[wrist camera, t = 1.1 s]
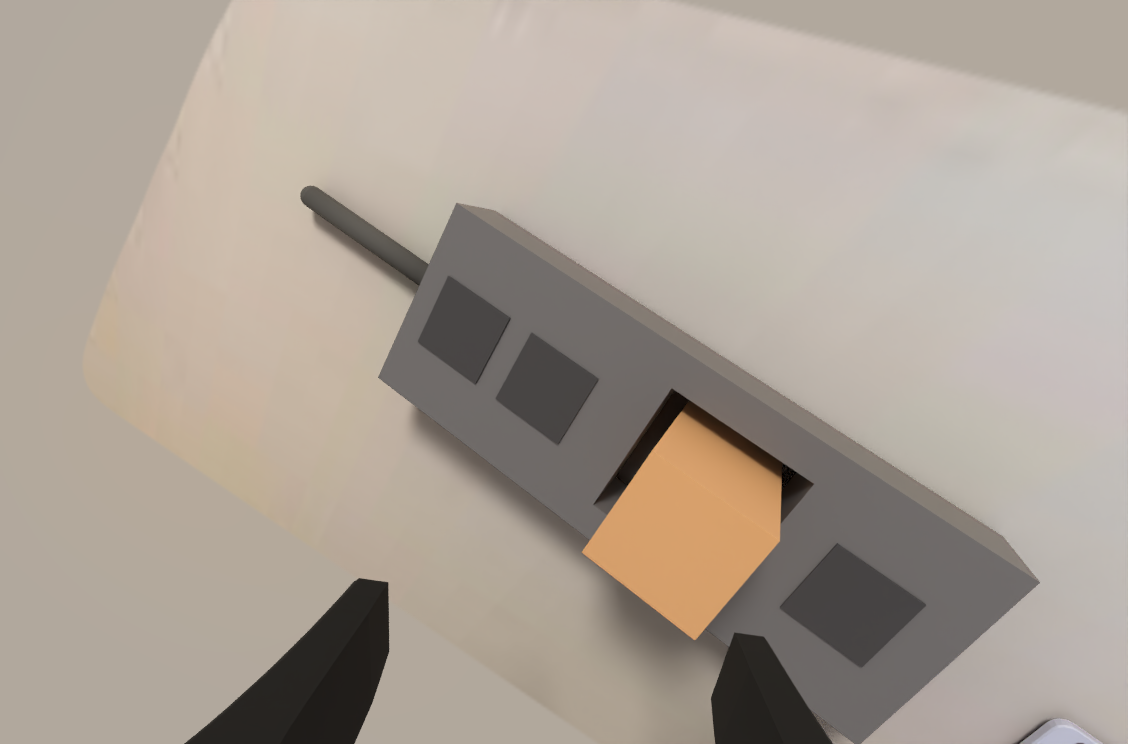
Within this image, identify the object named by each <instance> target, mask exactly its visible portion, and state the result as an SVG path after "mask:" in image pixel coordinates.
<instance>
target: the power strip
mask: <svg viewBox="0 0 1128 744" xmlns="http://www.w3.org/2000/svg"><path fill="white" fill-rule="evenodd" d="M301 200H302V202H303V203H304V204H305V205H306V206H307V207H309V208H310V209H311V210H313V211H314V212H316V213H317V214H318V215H320V216H321V217H323V218H324V219H326V220H327V221H328V222H330V223H331V224H333V225H334V226H335V227H337V228H338V229H340V230H341V231H343V232H344V233H345V234H347V235H348V236H350V237H351V238H352V239H354V240H355V241H357V242H358V243H360V244H361V245H362V246H364V247H365V248H367V249H368V250H369V251H371V252H372V253H374V254H375V255H377V256H378V257H379V258H381V259H382V260H384V261H385V262H387V263H388V264H389V265H391V266H392V267H394V268H395V269H396V270H398V271H399V272H401V273H402V274H404V275H405V276H406V277H408V278H409V279H411V280H412V281H413V282H415V283H416V284H418V285H419V288H418V290H417V292H416V294H415V297H414V299H413V301H412V303H411V305H410V308H409V310H408V312H407V314H406V317H405V319H404V321H403V323H402V325H401V328H400V330H399V332H398V334H397V337H396V339H395V341H394V343H393V345H392V348H391V350H390V352H389V354H388V357H387V359H386V361H385V363H384V366H383V368H382V370H381V372H380V374H379V377H378V378H379V379H381V380H382V381H383V382H385V383H386V384H387V385H388V386H390V387H391V388H392V389H394V390H395V391H396V392H398V393H399V394H400V395H402V396H403V397H404V398H405V399H407V400H408V401H409V402H411V403H412V404H413V405H415V406H416V407H417V408H418V409H420V410H421V411H422V412H424V413H425V414H426V415H428V416H429V417H430V418H431V419H433V420H434V421H435V422H437V423H438V424H439V425H441V426H442V427H443V428H444V429H446V430H447V431H448V432H450V433H451V434H452V435H454V436H455V437H456V438H457V439H459V440H460V441H461V442H463V443H464V444H465V445H467V446H468V447H469V448H470V449H472V450H473V451H474V452H476V453H477V454H478V455H480V456H481V457H482V458H483V459H485V460H486V461H487V462H489V463H490V464H491V465H493V466H494V467H495V468H496V469H498V470H499V471H500V472H502V473H503V474H504V475H506V476H507V477H508V478H509V479H511V480H512V481H513V482H515V483H516V484H517V485H519V486H520V487H521V488H523V489H524V490H525V491H526V492H528V493H529V494H530V495H532V496H533V497H534V498H536V499H537V500H538V501H539V502H541V503H542V504H543V505H545V506H546V507H547V508H549V509H550V510H551V511H552V512H554V513H555V514H556V515H558V516H559V517H560V518H562V519H563V520H564V521H565V522H567V523H568V524H569V525H571V526H572V527H573V528H575V529H576V530H577V531H578V532H580V533H581V534H582V535H584V536H585V537H586V538H588V539H589V540H591V538H592V537H593V535H594V534H595V532H596V531H597V529H598V528H599V527H600V525H601V524H602V522H603V521H604V519H605V518H606V516H607V515H608V514H609V512H610V511H611V509H612V508H613V506H614V505H615V503H616V502H617V501H618V499H619V498H620V496H621V495H622V493H623V492H624V490H625V489H626V488H627V485H626V484H624V483H623V482H622V481H620V480H619V479H617V478H616V476H617V474H618V473H619V471H620V470H621V468H622V467H623V466H624V464H625V463H626V461H627V460H628V458H629V457H630V455H631V454H632V452H633V451H634V449H635V448H636V446H637V445H638V443H639V442H640V440H641V439H642V437H643V436H644V435H645V433H646V432H647V430H648V429H649V427H650V426H651V424H652V423H653V421H654V420H655V418H656V417H657V415H658V414H659V412H660V411H661V409H662V408H663V406H664V405H665V404H666V402H667V401H668V399H669V398H670V396H671V395H672V393H673V392H674V390H675V391H677V392H678V393H680V394H681V395H683V396H684V397H686V398H687V399H689V400H690V401H691V402H693V403H694V404H696V405H697V406H699V407H700V408H702V409H703V410H705V411H706V412H708V413H709V414H711V415H712V416H714V417H715V418H717V419H718V420H720V421H721V422H723V423H724V424H726V425H727V426H729V427H730V428H732V429H733V430H735V431H736V432H738V433H739V434H741V435H742V436H744V437H745V438H747V439H748V440H750V441H751V442H753V443H754V444H756V445H757V446H759V447H760V448H762V449H763V450H765V451H766V452H768V453H769V454H770V455H772V456H773V457H775V458H776V459H778V460H779V461H781V462H782V463H784V464H785V465H787V466H788V467H790V468H791V469H793V470H794V471H796V472H797V473H796V474H795V475H794V476H793V477H792V479H791V480H790V481H789V482H788V484H787V485H786V486H785V487H784V488H783V490H782V491H781V521H780V542H779V543H778V544H777V545H776V546H775V547H774V549H773V550H772V551H771V552H770V553H769V554H768V556H767V557H766V558H765V559H764V560H763V561H762V563H761V564H760V565H759V566H758V567H757V568H756V570H755V571H754V572H753V573H752V574H751V575H750V577H749V578H748V579H747V580H746V581H745V583H744V584H743V585H742V586H741V587H740V588H739V590H738V591H737V592H736V593H735V594H734V595H733V597H732V598H731V599H730V600H729V601H728V602H727V604H726V605H725V606H724V607H723V608H722V609H721V611H720V612H719V613H718V614H717V615H716V616H715V618H714V619H713V620H712V621H711V622H710V623H709V625H708V626H707V627H706V628H705V629H706V630H707V631H709V632H710V633H711V634H712V635H714V636H715V637H716V638H718V639H719V640H720V641H722V642H723V643H724V644H725V645H727V646H728V647H729V646H730V643H731V640H732V638H733V635H734V632H735V633H742V634H749V635H756V636H763V637H765V639H766V640H767V641H768V643H769V645H770V646H771V648H772V649H773V651H774V653H775V654H776V656H777V658H778V659H779V661H780V663H781V664H782V666H783V667H784V669H785V671H786V672H787V674H788V676H789V677H790V679H791V680H792V682H793V684H794V685H795V687H796V688H797V690H798V692H799V693H800V695H801V696H802V698H803V699H804V701H805V703H806V704H807V706H808V707H809V709H810V710H811V711H813V712H814V713H815V714H817V715H818V716H819V717H820V718H822V719H823V720H824V721H826V722H827V723H828V724H830V725H831V726H832V727H833V728H835V729H836V730H837V731H839V732H840V733H841V734H843V735H844V736H845V737H846V738H848V739H849V740H850V741H852V742H853V743H854V744H861V743H862V742H863V741H864V740H865V739H866V738H867V737H869V736H870V735H871V734H872V733H873V732H874V731H875V730H876V729H877V728H879V727H880V726H881V725H882V724H883V723H884V722H885V721H886V720H887V719H889V718H890V717H891V716H892V715H893V714H894V713H895V712H896V711H897V710H899V709H900V708H901V707H902V706H903V705H904V704H905V703H906V702H908V701H909V700H910V699H911V698H912V697H913V696H914V695H915V694H916V693H918V692H919V691H920V690H921V689H922V688H923V687H924V686H925V685H926V684H928V683H929V682H930V681H931V680H932V679H933V678H934V677H935V676H936V675H938V674H939V673H940V672H941V671H942V670H943V669H944V668H945V667H947V666H948V665H949V664H950V663H951V662H952V661H953V660H954V659H955V658H957V657H958V656H959V655H960V654H961V653H962V652H963V651H964V650H965V649H967V648H968V647H969V646H970V645H971V644H972V643H973V642H974V641H975V640H977V639H978V638H979V637H980V636H981V635H982V634H983V633H984V632H986V631H987V630H988V629H989V628H990V627H991V626H992V625H993V624H994V623H996V622H997V621H998V620H999V619H1000V618H1001V617H1002V616H1003V615H1004V614H1006V613H1007V612H1008V611H1009V610H1010V609H1011V608H1012V607H1013V606H1014V605H1016V604H1017V603H1018V602H1019V601H1020V600H1021V599H1022V598H1023V597H1025V596H1026V595H1027V594H1028V593H1029V592H1030V591H1031V590H1032V589H1033V588H1035V587H1036V586H1037V585H1038V584H1039V583H1040V582H1039V581H1038V579H1037V578H1036V577H1035V576H1034V574H1033V573H1032V572H1031V571H1030V569H1029V568H1028V567H1027V566H1026V564H1025V563H1024V562H1023V561H1022V559H1021V558H1020V557H1019V556H1018V555H1017V553H1016V552H1015V551H1014V550H1013V548H1012V547H1011V546H1010V545H1009V543H1008V542H1007V541H1006V540H1005V538H1004V537H1003V536H1001V535H1000V534H998V533H997V532H995V531H994V530H992V529H990V528H989V527H987V526H986V525H984V524H983V523H981V522H979V521H978V520H976V519H975V518H973V517H972V516H970V515H969V514H967V513H965V512H964V511H962V510H961V509H959V508H958V507H956V506H955V505H953V504H951V503H950V502H948V501H947V500H945V499H944V498H942V497H941V496H939V495H937V494H936V493H934V492H933V491H931V490H930V489H928V488H926V487H925V486H923V485H922V484H920V483H919V482H917V481H916V480H914V479H912V478H911V477H909V476H908V475H906V474H905V473H903V472H902V471H900V470H898V469H897V468H895V467H894V466H892V465H891V464H889V463H888V462H886V461H884V460H883V459H881V458H880V457H878V456H877V455H875V454H874V453H872V452H870V451H869V450H867V449H866V448H864V447H863V446H861V445H859V444H858V443H856V442H855V441H853V440H852V439H850V438H849V437H847V436H845V435H844V434H842V433H841V432H839V431H838V430H836V429H835V428H833V427H831V426H830V425H828V424H827V423H825V422H824V421H822V420H821V419H819V418H817V417H816V416H814V415H813V414H811V413H810V412H808V411H807V410H805V409H803V408H802V407H800V406H799V405H797V404H796V403H794V402H792V401H791V400H789V399H788V398H786V397H785V396H783V395H782V394H780V393H778V392H777V391H775V390H774V389H772V388H771V387H769V386H768V385H766V384H764V383H763V382H761V381H760V380H758V379H757V378H755V377H754V376H752V375H750V374H749V373H747V372H746V371H744V370H743V369H741V368H739V367H738V366H736V365H735V364H733V363H732V362H730V361H729V360H727V359H725V358H724V357H722V356H721V355H719V354H718V353H716V352H715V351H713V350H711V349H710V348H708V347H707V346H705V345H704V344H702V343H701V342H699V341H697V340H696V339H694V338H693V337H691V336H690V335H688V334H687V333H685V332H683V331H682V330H680V329H679V328H677V327H676V326H674V325H672V324H671V323H669V322H668V321H666V320H665V319H663V318H662V317H660V316H658V315H657V314H655V313H654V312H652V311H651V310H649V309H648V308H646V307H644V306H643V305H641V304H640V303H638V302H637V301H635V300H634V299H632V298H630V297H629V296H627V295H626V294H624V293H623V292H621V291H620V290H618V289H616V288H615V287H613V286H612V285H610V284H609V283H607V282H605V281H604V280H602V279H601V278H599V277H598V276H596V275H595V274H593V273H591V272H590V271H588V270H587V269H585V268H584V267H582V266H581V265H579V264H577V263H576V262H574V261H573V260H571V259H570V258H568V257H567V256H565V255H563V254H562V253H560V252H559V251H557V250H556V249H554V248H553V247H551V246H549V245H548V244H546V243H545V242H543V241H542V240H540V239H538V238H537V237H535V236H534V235H532V234H531V233H529V232H528V231H526V230H524V229H523V228H521V227H520V226H518V225H517V224H515V223H514V222H512V221H510V220H509V219H507V218H506V217H504V216H503V215H501V214H500V213H498V212H496V211H494V210H489V209H484V208H479V207H474V206H469V205H464V204H459V203H456V205H455V208H454V210H453V212H452V214H451V216H450V219H449V221H448V223H447V225H446V228H445V230H444V232H443V234H442V236H441V239H440V241H439V243H438V245H437V248H436V250H435V252H434V254H433V257H432V259H431V261H430V263H429V264H427V263H426V262H424V261H423V260H421V259H420V258H418V257H417V256H416V255H414V254H413V253H411V252H410V251H408V250H407V249H405V248H404V247H403V246H401V245H400V244H398V243H397V242H395V241H394V240H392V239H391V238H390V237H388V236H387V235H385V234H384V233H382V232H381V231H379V230H378V229H376V228H375V227H374V226H372V225H371V224H369V223H368V222H366V221H365V220H363V219H362V218H361V217H359V216H358V215H356V214H355V213H353V212H352V211H350V210H349V209H348V208H346V207H345V206H343V205H342V204H340V203H339V202H337V201H336V200H335V199H333V198H332V197H330V196H329V195H327V194H326V193H324V192H323V191H322V190H320V189H319V188H317V187H315V186H307V187H305V188H304V189H303V190H302V191H301Z"/></svg>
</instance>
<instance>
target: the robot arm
mask: <svg viewBox="0 0 1128 744" xmlns="http://www.w3.org/2000/svg"><path fill="white" fill-rule="evenodd" d="M388 607H389V603H388V582H381V581H374V580H367V579H361V578H359V579H357V580H356V581H354V582H353V583H352V585H351V586H350V587H349V588H348V589H347V590H346V591H345V593H343V595H342V596H341V597H340V598H339V599H338V600H337V601H336V602H335V604H333V606H332V607H331V608H330V609H329V610H328V611H327V612H326V613H325V614H324V615H323V616H322V617H321V618H320V619H319V620H318V622H317V623H316V624H315V625H314V626H313V627H312V628H311V629H310V630H309V631H308V632H307V633H306V634H305V635H304V636H303V637H302V638H301V639H300V640H299V641H298V642H297V643H296V644H295V645H294V646H293V647H292V648H291V649H290V650H289V651H288V652H287V653H286V654H285V655H284V656H283V657H282V658H281V659H280V660H279V661H278V662H277V663H276V664H275V665H274V666H273V667H271V668H270V669H269V670H268V671H267V672H266V673H265V674H264V675H263V676H262V677H261V678H260V679H258V680H257V682H255V683H254V684H253V685H252V686H251V687H250V688H249V689H248V690H246V691H245V692H244V693H243V694H242V695H241V696H240V697H239V698H238V699H237V700H235V701H234V702H233V703H232V704H231V705H230V706H229V707H228V708H227V709H225V710H224V711H223V712H222V713H221V714H220V715H218V716H217V717H216V718H215V719H214V720H213V721H211V722H210V723H209V724H208V725H207V726H205V727H204V728H203V729H202V730H201V731H199V732H198V733H197V734H196V735H195V736H193V737H192V738H191V739H190V740H188V741H187V742H186V743H185V744H354V743H355V741H356V739H357V736H358V734H359V732H360V729H361V727H362V725H363V723H364V721H365V718H366V716H367V714H368V711H369V709H370V707H371V704H372V702H373V699H374V696H375V693H376V689H377V687H378V684H379V681H380V678H381V675H382V671H383V669H384V666H385V663H386V659H387V656H388V653H389V608H388ZM711 702H712V714H713V725H714V735H715V744H833V743H832V742H831V740H830V739H829V738H828V736H827V735H826V733H825V732H824V730H823V729H822V727H821V726H820V724H819V723H818V721H817V720H816V718H815V717H814V715H813V713H812V712H811V710H810V709H809V707H808V706H807V704H806V703H805V701H804V699H803V698H802V696H801V695H800V693H799V692H798V690H797V688H796V687H795V685H794V684H793V682H792V680H791V679H790V677H789V676H788V674H787V672H786V671H785V669H784V667H783V666H782V664H781V663H780V661H779V659H778V658H777V656H776V654H775V653H774V651H773V649H772V648H771V646H770V645H769V643H768V641H767V640H766V639H765V637H763V636H756V635H749V634H742V633H735V632H734V635H733V638H732V640H731V643H730V646H729V649H728V652H727V655H726V657H725V660H724V663H723V666H722V669H721V671H720V674H719V677H718V680H717V683H716V686H715V688H714V691H713V694H712V697H711ZM1076 743H1084V744H1103V743H1102V742H1100V741H1099V740H1097V739H1096V738H1095V737H1093V736H1092V735H1090V734H1089V733H1087V732H1086V731H1085V730H1083V729H1082V728H1080V727H1079V726H1077V725H1076V724H1074V723H1073V722H1071V721H1069V720H1066V719H1061V718H1058V719H1052V720H1050V721H1048V722H1047V723H1045V724H1044V725H1043V726H1041V727H1040V728H1039V729H1038V730H1036V731H1035V732H1034V733H1032V734H1031V735H1030V736H1029V737H1027V738H1026V739H1025V740H1024V741H1022V742H1021V743H1020V744H1076Z"/></svg>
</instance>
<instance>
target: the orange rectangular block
mask: <svg viewBox="0 0 1128 744" xmlns="http://www.w3.org/2000/svg"><path fill="white" fill-rule="evenodd" d="M781 486H782V462H781V461H779V460H778V459H776V458H775V457H773V456H772V455H770V454H769V453H768V452H766V451H765V450H763V449H762V448H760V447H759V446H757V445H756V444H754V443H753V442H751V441H750V440H748V439H747V438H745V437H744V436H742V435H741V434H739V433H738V432H736V431H735V430H733V429H732V428H730V427H729V426H727V425H726V424H724V423H723V422H721V421H720V420H718V419H717V418H715V417H714V416H712V415H711V414H709V413H708V412H706V411H705V410H703V409H702V408H700V407H699V406H697V405H696V404H694V403H693V402H691V401H690V400H689V402H688V403H687V404H686V406H685V407H684V408H683V410H682V411H681V412H680V414H679V415H678V416H677V418H676V419H675V420H674V422H673V423H672V424H671V426H670V427H669V429H668V430H667V431H666V433H665V434H664V435H663V437H662V438H661V439H660V441H659V442H658V443H657V445H656V446H655V447H654V449H653V450H652V451H651V453H650V454H649V456H648V457H647V459H646V460H645V462H644V463H643V464H642V466H641V467H640V469H639V470H638V472H637V473H636V475H635V476H634V477H633V479H632V480H631V482H630V483H629V485H628V486H627V488H626V489H625V490H624V492H623V493H622V495H621V496H620V498H619V499H618V501H617V502H616V503H615V505H614V506H613V508H612V509H611V511H610V512H609V514H608V515H607V516H606V518H605V519H604V521H603V522H602V524H601V525H600V527H599V528H598V529H597V531H596V532H595V534H594V535H593V537H592V538H591V540H590V541H589V542H588V544H587V545H586V547H585V548H584V550H583V551H582V553H583V554H584V555H586V556H587V557H588V558H590V559H591V560H592V561H593V562H595V563H596V564H597V565H599V566H600V567H601V568H602V569H604V570H605V571H606V572H607V573H609V574H610V575H611V576H613V577H614V578H615V579H616V580H618V581H619V582H620V583H622V584H623V585H624V586H625V587H627V588H628V589H629V590H631V591H632V592H633V593H634V594H636V595H637V596H638V597H640V598H641V599H642V600H643V601H645V602H646V603H647V604H649V605H650V606H651V607H652V608H654V609H655V610H656V611H658V612H659V613H660V614H661V615H663V616H664V617H665V618H667V619H668V620H669V621H670V622H672V623H673V624H674V625H676V626H677V627H678V628H679V629H681V630H682V631H683V632H685V633H686V634H687V635H688V636H690V637H691V638H692V639H694V640H696V639H697V638H698V636H699V635H700V634H701V633H702V632H703V631H704V629H705V628H706V627H707V626H708V625H709V623H710V622H711V621H712V620H713V619H714V618H715V616H716V615H717V614H718V613H719V612H720V611H721V609H722V608H723V607H724V606H725V605H726V604H727V602H728V601H729V600H730V599H731V598H732V597H733V595H734V594H735V593H736V592H737V591H738V590H739V588H740V587H741V586H742V585H743V584H744V583H745V581H746V580H747V579H748V578H749V577H750V575H751V574H752V573H753V572H754V571H755V570H756V568H757V567H758V566H759V565H760V564H761V563H762V561H763V560H764V559H765V558H766V557H767V556H768V554H769V553H770V552H771V551H772V550H773V549H774V547H775V546H776V545H777V544H778V543H779V542H780V521H781Z"/></svg>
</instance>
